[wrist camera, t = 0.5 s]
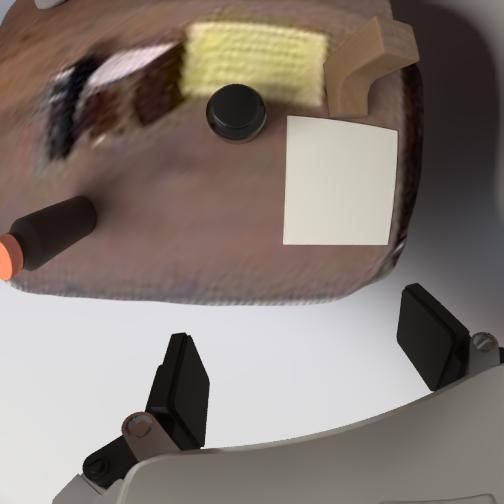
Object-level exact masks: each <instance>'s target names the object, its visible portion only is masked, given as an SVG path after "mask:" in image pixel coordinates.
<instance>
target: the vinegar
mask: <svg viewBox="0 0 504 504" xmlns="http://www.w3.org/2000/svg"><path fill="white" fill-rule="evenodd" d="M95 223H96V214H95V209H94V207H93V205H92V204H91V203H90V202H89V201H88V200H87V199H85V198H84V197H74V198H71V199H68V200H65V201H63V202H60V203H57V204H54V205H52V206H49V207H47V208H44V209H41V210H39V211H36V212H34V213H31V214H29V215H27V216H24V217H22V218H19V219H17V220H16V221H15V222H14V223H13V224H12V226H11V228H10V231H9V233H6V234H3V235H1V236H0V279H2V280H5V281H8V280H10V279H11V278H13V277H14V276H15V275H17V274H18V273H19V272H20V271H21V270H22V269H25V270H29V271H32V270H37V269H38V268H39V267H41V266H42V265H43V264H45V263H46V262H48V261H49V260H51V259H52V258H53V257H55V256H56V255H58V254H59V253H61V252H62V251H64V250H65V249H67V248H68V247H70V246H71V245H73V244H74V243H76V242H77V241H79V240H80V239H82V238H84V237H85V236H87V235H88V234H90V233H91V232H92V230H93V229H94V226H95Z"/></svg>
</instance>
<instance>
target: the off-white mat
mask: <svg viewBox="0 0 504 504" xmlns="http://www.w3.org/2000/svg"><path fill="white" fill-rule="evenodd" d="M397 133H398V131H394V130H390V129H385V128H380V127H375V126H369V125H363V124H357V123H351V122H344V121H337V120H329V119H321V118H311V117H300V116H287V149H286V185H285V212H284V234H283V244H322V245H388V239H389V232H390V225H391V217H392V209H393V200H394V190H395V178H396V163H397Z"/></svg>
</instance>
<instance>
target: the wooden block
mask: <svg viewBox="0 0 504 504" xmlns="http://www.w3.org/2000/svg"><path fill="white" fill-rule="evenodd" d="M419 60H420V57H419V52H418V48H417V44H416V40H415V36H414V32H413V29H412V27H411V26H410V25H409V24H405V23H402V22H399V21H395V20H392V19H388V18H385V17H381V16H374V17H373V18H372V19H371V20H369V21H368V22H367V23H366V24H365V25H364V26H363V27H362V28H360V29H359V30H358V31H357V32H356V33H355V34H354V35H353V36H352V37H351V38H350V39H348V40H347V41H346V42H345V43H344V44H343V45H342V46H341V47H340V48H339V49H338V50H337V51H336V52H335V53H334V54H333V55H332V56H331V57H330V58H329V59H328V60H327V61H326V62H325V63H324V64H323V66H324V73H325V81H326V89H327V98H328V108H329V116H330V117H331V118H350V119H356V118H360V117H364V116H367V115H368V94H369V90H370V87H371V85H372V84H373V83H374V82H375V81H376V79H379V78H381V77H383V76H385V75H387V74H390V73H392V72H394V71H396V70H399V69H401V68H403V67H406V66H408V65H411V64H413V63H416V62H418V61H419Z"/></svg>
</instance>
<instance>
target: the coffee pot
mask: <svg viewBox="0 0 504 504" xmlns="http://www.w3.org/2000/svg"><path fill="white" fill-rule="evenodd" d="M64 1H66V0H35V3H36V6H37V7H38V8H40V9H49V8H52V7H54V6H56V5H59V4H61V3H63V2H64Z"/></svg>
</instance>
